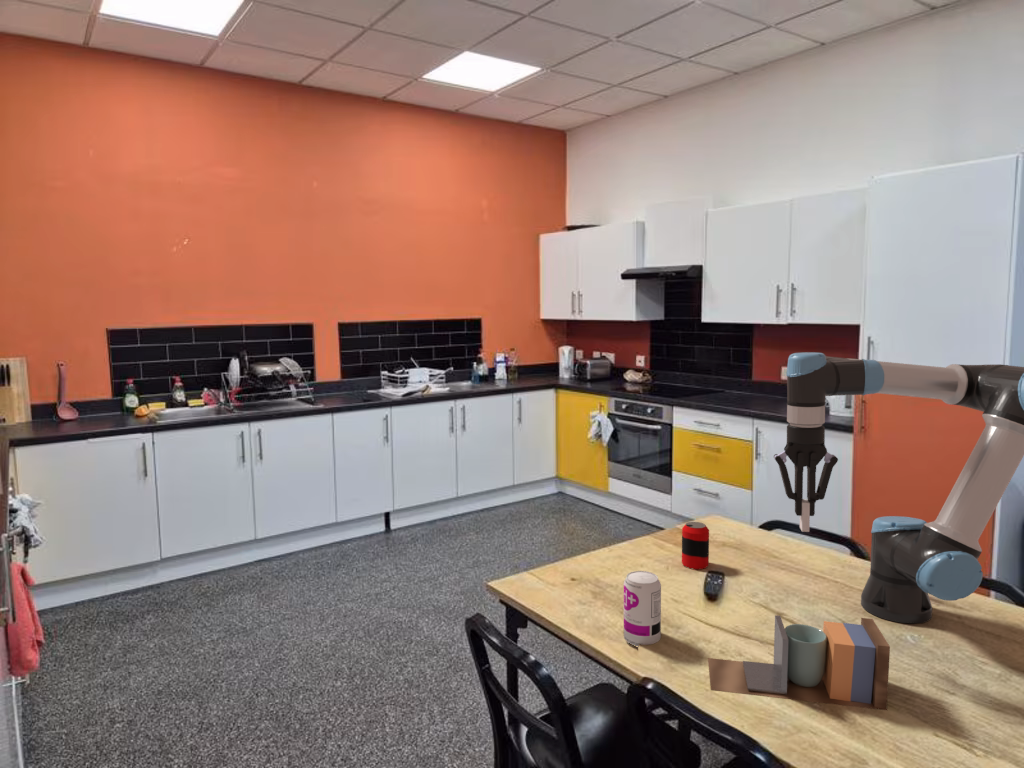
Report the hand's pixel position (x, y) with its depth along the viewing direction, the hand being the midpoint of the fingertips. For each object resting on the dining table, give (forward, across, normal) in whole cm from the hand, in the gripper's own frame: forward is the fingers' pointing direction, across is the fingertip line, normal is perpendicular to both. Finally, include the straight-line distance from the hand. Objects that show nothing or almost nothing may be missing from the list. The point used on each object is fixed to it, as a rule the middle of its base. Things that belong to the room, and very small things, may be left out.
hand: (804, 529), depth 146 cm
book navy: (+25, -5, +20) cm, 32 cm away
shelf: (+26, +6, +20) cm, 33 cm away
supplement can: (+25, +35, +7) cm, 44 cm away
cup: (+25, +4, +20) cm, 32 cm away
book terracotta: (+25, -2, +20) cm, 32 cm away
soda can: (+26, +22, -41) cm, 53 cm away
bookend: (+24, +11, +20) cm, 33 cm away
